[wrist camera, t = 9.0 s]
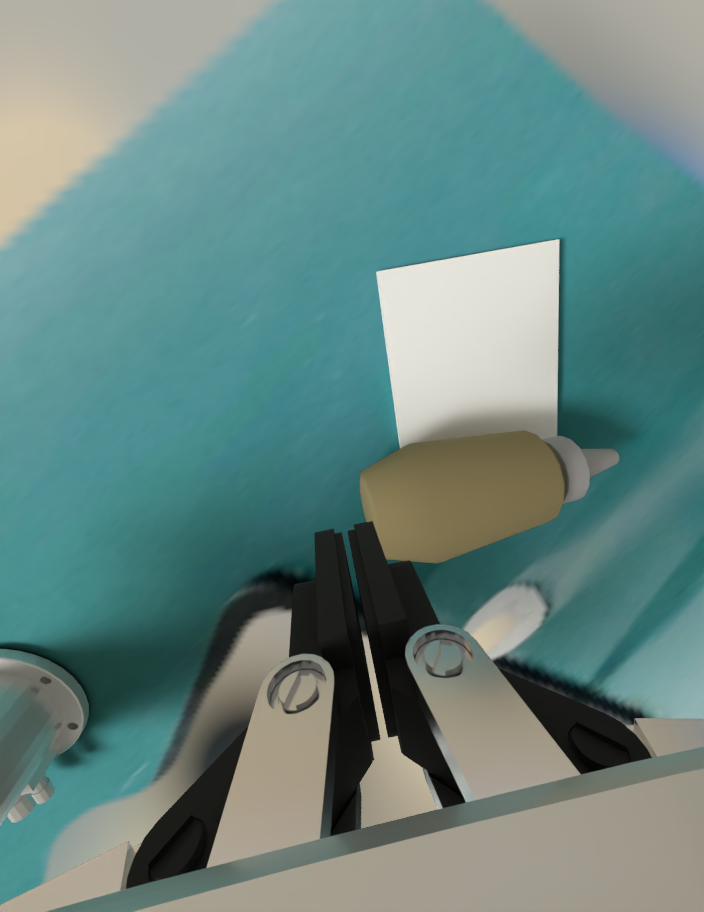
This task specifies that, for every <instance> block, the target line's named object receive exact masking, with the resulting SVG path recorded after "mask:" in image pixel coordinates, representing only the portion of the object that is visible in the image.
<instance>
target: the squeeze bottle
mask: <svg viewBox="0 0 704 912" xmlns="http://www.w3.org/2000/svg"><path fill="white" fill-rule="evenodd" d="M618 462H619V455H618V453H617V452H616V451H615V450H614V449H580V447H578V446H577V445H576V444H575V443H574V442H573V441H572V440H571V439H569V438H566V437H563V436H556V437H552V438H547V439H543V440H542V439H541V438H540V437H539V436H537V435H536V434H534V433H531V432H528V431H526V430H522V431H513V432H505V433H496V434H487V435H479V436H470V437H461V438H453V439H444V440H435V441H427V442H418V443H410V444H408V445H406V446H404V447H402V448H400V449H399V450H397V451H395V452H393V453H392V454H390V455H388V456H387V457H385V458H383V459H381V460H380V461H378V462H376V463H375V464H373V465H371V466H369V467H368V468H366V469H364V470H363V471H361V473H360V496H361V501H362V507H363V511H364V516H365V520H366V522H370V521H373V524H374V527H375V529H376V532H377V535H378V538H379V541H380V544H381V546H382V549H383V552H384V555H385V558H386V559H387V560H400V561H408V560H410V561H413V562H426V563H441V562H444V561H446V560H449V559H452V558H454V557H457V556H460V555H462V554H465V553H467V552H470V551H473V550H475V549H478V548H481V547H483V546H486V545H489V544H491V543H494V542H497V541H499V540H502V539H505V538H507V537H510V536H513V535H515V534H518V533H521V532H523V531H526V530H529V529H531V528H534V527H537V526H539V525H542V524H545V523H547V522H549V521H551V520H553V519H554V518H556V517H557V516H558V514H559V512H560V510H561V507H562V505H563V504H564V503H568V502H572V501H576V500H579V499H580V498H582V497H583V496H585V494H586V492H587V490H588V488H589V486H590V478H591V477H593V476H594V475H596V474H598V473H600V472H602V471H604V470H606V469H608V468H610V467H612V466H614V465H616V464H617V463H618Z"/></svg>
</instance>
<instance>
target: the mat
mask: <svg viewBox="0 0 704 912" xmlns="http://www.w3.org/2000/svg"><path fill="white" fill-rule="evenodd" d="M376 275H377V282H378V290H379V297H380V305H381V312H382V319H383V327H384V334H385V342H386V349H387V357H388V364H389V371H390V379H391V386H392V394H393V401H394V409H395V416H396V423H397V431H398V438H399V446H400V448H402V447H404V446H406V445H408V444H410V443H418V442H427V441H435V440H444V439H453V438H461V437H470V436H479V435H487V434H496V433H505V432H513V431H522V430H526V431H528V432H531V433H534V434H536V435H537V436H539V437H540V438H541V439H542V440H543V439H547V438H552V437H556V436H557V398H558V312H559V239H557V240H552V241H546V242H540V243H535V244H529V245H524V246H518V247H512V248H507V249H501V250H495V251H490V252H484V253H479V254H473V255H467V256H462V257H456V258H450V259H445V260H439V261H433V262H428V263H422V264H417V265H411V266H405V267H400V268H394V269H388V270H383V271H377V272H376Z"/></svg>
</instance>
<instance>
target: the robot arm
mask: <svg viewBox="0 0 704 912" xmlns="http://www.w3.org/2000/svg"><path fill="white" fill-rule="evenodd" d="M354 528H355V530H351V531H348V536H349V541H350V546H351V551H352V556H353V562H354V567H355V572H356V577H357V582H358V588H359V593H360V598H361V603H362V608H363V614H364V619H365V624H366V629H367V634H368V639H369V643H370V649H371V654H372V659H373V664H374V669H375V673H376V679H377V683H378V689H379V693H380V699H381V703H382V708H383V713H384V718H385V724H386V729H387V734H388V737H394V736H398V739H399V744H400V748H401V752H402V753H403V754H404V755H405V756H407V757H408V758H409V759H411V760H412V761H414V762H415V763H417V764H418V765H420V766H421V767H423V772H424V775H425V779H426V782H427V784H428V787H429V789H430V792H431V794H432V797H433V799H434V802H435V804H436V806H437V809H438V810H434V811H430V812H427V813H422V814H418V815H415V816H410V817H406V818H402V819H398V820H394V821H390V822H386V823H383V824H378V825H374V826H370V827H366V828H362V829H361V788H360V781H361V780H362V778H363V776H364V775H365V773H366V772H367V770H368V768H369V767H370V765H371V763H372V760H374V757H373V751H372V745H371V742H372V741H376V740H380V735H379V729H378V723H377V717H376V712H375V707H374V701H373V695H372V690H371V684H370V678H369V673H368V668H367V663H366V656H365V651H364V645H363V640H362V634H361V628H360V623H359V617H358V612H357V607H356V602H355V597H354V592H353V587H352V582H351V577H350V572H349V567H348V561H347V556H346V551H345V546H344V541H343V536H342V532H341V533H336V534H335V533H334V529H330V530H325V531H321V532H316V533H315V560H316V580H313V581H308V582H303V583H299V584H295V585H294V588H293V602H292V618H291V636H290V650H289V658H288V659H286V660H284V661H282V662H280V663H279V664H278V665H276V666H275V667H274V668H273V669H272V670H271V671H270V672H269V673H268V675H267V676H266V677H265V679H264V681H263V683H262V685H261V688H260V690H259V693H258V696H257V700H256V704H255V707H254V710H253V713H252V717H251V720H250V724H249V726H248V727H247V728H246V729H245V730H244V731H243V732H242V733H241V734H240V736H238V737H237V739H236V740H235V741H234V742H233V743H232V744H231V745H230V746H229V747H228V748H227V749H226V750H225V751H224V752H223V753H222V754H221V755H220V756H219V757H218V758H217V760H216V761H215V762H214V763H213V764H212V765H211V766H210V767H209V768H208V769H207V770H206V771H205V772H204V773H203V774H202V775H201V776H200V778H198V780H197V781H196V782H195V783H194V784H193V785H192V786H191V787H190V788H189V789H188V790H187V791H186V792H185V793H184V794H183V795H182V796H181V797H180V798H179V800H177V802H176V803H175V804H174V805H173V806H172V807H171V808H170V809H169V810H168V811H167V812H166V813H165V814H164V815H163V816H162V817H161V819H159V821H158V822H157V823H156V824H155V825H154V827H153V828H152V829H151V830H150V832H149V833H148V834H147V835H146V837H145V838H144V840H143V842H142V843H141V844H139V845H137V846H135V847H133V848H132V847H131V845H130V843H129V841H128V842H126V843H124V844H122V845H120V846H118V847H116V848H114V849H112V850H110V851H108V852H106V853H104V854H102V855H100V856H98V857H96V858H94V859H92V860H90V861H88V862H86V863H84V864H82V865H80V866H78V867H76V868H74V869H72V870H70V871H68V872H66V873H64V874H62V875H60V876H58V877H56V878H54V879H52V880H50V881H48V882H46V883H44V884H42V885H40V886H38V887H36V888H34V889H32V890H30V891H27V892H25V893H23V894H21V895H19V896H17V897H15V898H13V899H11V900H9V901H7V902H5V903H3V904H1V905H0V912H704V719H663V718H635V721H634V725H624V724H622V723H621V722H620V721H618V720H616V719H614V718H612V717H611V716H609V715H607V714H605V713H603V712H600V711H598V710H596V709H593V708H591V707H589V706H586V705H584V704H582V703H579V702H577V701H575V700H572V699H570V698H567V697H565V696H563V695H560V694H558V693H556V692H553V691H551V690H549V689H546V688H544V687H541V686H539V685H537V684H534V683H532V682H530V681H527V680H525V679H523V678H520V677H518V676H516V675H513V674H511V673H508V672H506V671H504V670H501V669H499V668H497V667H496V665H495V664H494V663H493V661H492V660H491V659H490V658H489V656H488V655H487V654H486V652H485V651H484V650H483V649H482V647H481V646H480V645H479V644H478V642H477V641H476V640H475V639H474V638H473V637H472V636H471V635H470V634H469V633H468V632H466V631H464V630H462V629H460V628H458V627H455V626H451V625H443V624H440V623H439V621H438V619H437V617H436V615H435V612H434V610H433V608H432V606H431V604H430V602H429V599H428V597H427V595H426V593H425V591H424V589H423V586H422V584H421V582H420V580H419V578H418V576H417V573H416V571H415V569H414V567H413V565H412V563H411V561H410V560H408V561H403V562H398V563H394V564H389V565H388V563H387V561H386V558H385V555H384V552H383V549H382V546H381V544H380V541H379V538H378V535H377V532H376V529H375V527H374V524H373V521H370V522H365V523H360V524H355V525H354ZM88 717H89V704H88V701H87V697H86V695H85V693H84V691H83V689H82V687H81V686H80V684H79V683H78V682H77V681H76V680H75V679H74V677H73V676H72V675H70V674H69V673H68V672H67V671H65V670H64V669H63V668H62V667H60V666H58V665H56V664H55V663H53V662H51V661H50V660H47V659H45V658H42V657H40V656H37V655H34V654H31V653H27V652H23V651H17V650H9V649H0V826H1V824H2V823H3V821H4V819H5V818H6V816H7V817H8V818H9V819H10V821H11V822H18V821H20V820H22V819H23V818H25V817H26V816H27V815H28V814H29V813H30V812H31V811H32V809H33V808H34V806H35V804H36V803H37V804H42V803H44V802H46V801H47V800H48V799H49V798H50V797H51V796H52V795H53V793H54V791H55V787H54V785H53V784H52V782H51V781H50V779H49V778H48V777H46V775H45V773H46V770H47V769H48V767H49V765H50V764H51V762H52V761H53V759H54V757H56V756H58V755H60V754H62V753H64V752H65V751H66V750H67V749H69V748H70V747H71V746H72V745H73V744H74V743H75V742H76V740H77V739H78V738H79V736H80V735H81V733H82V731H83V729H84V728H85V726H86V723H87V720H88Z"/></svg>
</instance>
